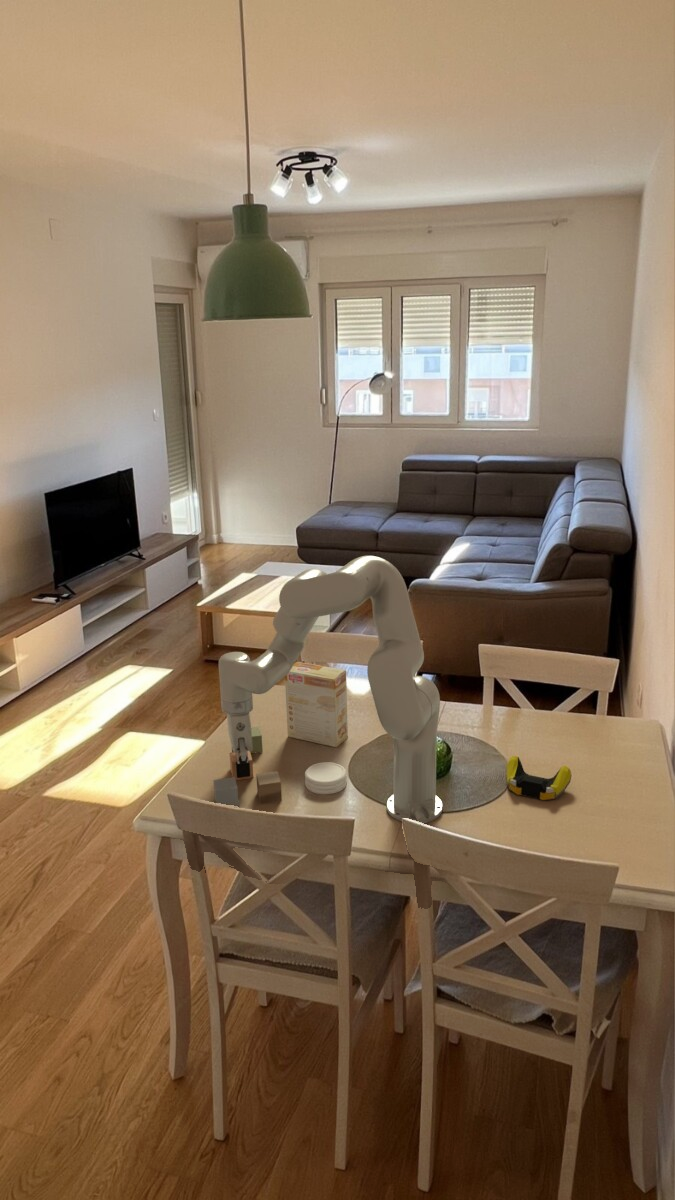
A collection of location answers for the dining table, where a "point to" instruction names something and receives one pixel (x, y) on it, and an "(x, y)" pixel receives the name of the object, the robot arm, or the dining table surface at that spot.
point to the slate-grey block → (226, 791)
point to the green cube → (256, 740)
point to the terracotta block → (233, 765)
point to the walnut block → (269, 787)
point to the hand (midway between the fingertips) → (241, 766)
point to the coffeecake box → (316, 704)
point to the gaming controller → (536, 781)
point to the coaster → (325, 778)
